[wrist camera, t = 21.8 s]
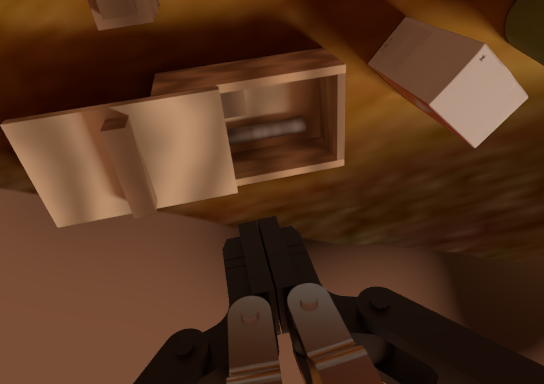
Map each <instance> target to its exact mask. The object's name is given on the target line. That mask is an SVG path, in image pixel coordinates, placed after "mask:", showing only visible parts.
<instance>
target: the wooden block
mask: <svg viewBox="0 0 544 384" xmlns="http://www.w3.org/2000/svg"><path fill="white" fill-rule="evenodd" d="M88 3H89V6H90V8H91V11H92V14H93V17H94V20H95V22H96V25H97V28H98V31H99V30H106V29H112V28H119V27H125V26H132V25H138V24H145V23H151V22H154V19H155V17H156V14H157V11H158V9H159V6H160V5H159V1H158V0H88Z"/></svg>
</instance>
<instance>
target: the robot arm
mask: <svg viewBox="0 0 544 384" xmlns="http://www.w3.org/2000/svg"><path fill="white" fill-rule="evenodd" d="M257 222H258V225H257ZM257 222H256V220H252V221H247V222H242V223H238V227H239V232H240V237H235V238H230V239H227V240H226V242H225V245H224V247H223V249H222V250H223V257H224V265H225V273H226V280H227V287H228V295H229V309H228V313H227V314H226V316H225V317H224V318H223V320H222V321H221V322H219V323H218V324H217V325H216V326H214V327H212V328H210V329H208V330H207V331H205V332H201V331H199V330H197V329H192V328H191V329H183V330H181V331H178V332H176V333H175V334H173V335H172V336H171V337H170V338H169V339H168V340H167V341H166V342H165V344H164V345H163V346H162V347H161V349H160V350H159V351H158V353H157V354H156V355H155V356H154V358H153V359H152V360H151V362H150V363H149V364H148V366H147V367H146V368H145V369H144V371H143V372H142V373H141V374H140V376H139V377H138V378H137V380H136V381H135V382H134V383H133V384H282V379H281V372H280V365H279V358H278V357H279V345H278V338H277V335H280V334H281V333H280V326H281V329H282V333H283V334H284V333H288V332H289V333H290V337H291V341H292V347H293V354H294V357H295V360H296V362H297V365H298V368H299V371H300V374H301V377H302V379H303V382H304V384H384V383H383V382H385V383H386V384H544V366H543V365H540V364H538V363H537V362H535V361H533V360H531V359H529V358H526V357H525V356H523V355H520V354H518V353H516V352H514V351H512V350H510V349H508V348H506V347H504V346H502V345H500V344H498V343H496V342H494V341H492V340H490V339H488V338H486V337H484V336H482V335H480V334H478V333H476V332H474V331H472V330H470V329H468V328H466V327H464V326H462V325H460V324H458V323H456V322H454V321H452V320H450V319H447V318H446V317H444V316H441V315H440V314H438V313H436V312H434V311H432V310H430V309H427V308H425V307H424V306H422V305H420V304H418V303H416V302H414V301H412V300H410V299H408V298H406V297H403V296H402V295H399V294H397V293H395V292H393V291H391V290H389V289H387V288H383V287H370V288H367V289H365V290H363V291H362V292H361V293H360V294H359V296H358V297H349V296H339V295H335V294H333V293H331V292H329V291H327V290H326V289H325V288H324V287H323V286H322V285H321V283H320V281H319V279H318V277H317V274H316V272H315V269H314V267H313V264H312V262H311V259H310V257H309V254H308V253H307V249H306V247H305V245H304V242H303V240H302V237H301V235H300V233H299V232H298V231H297V230H296V229H294V228H293V227H292V226H288V227H283V228H280V227H279V224H278V221H277V218H276V216H271V217H266V218H261V219H257ZM279 322H280V325H279Z"/></svg>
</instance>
